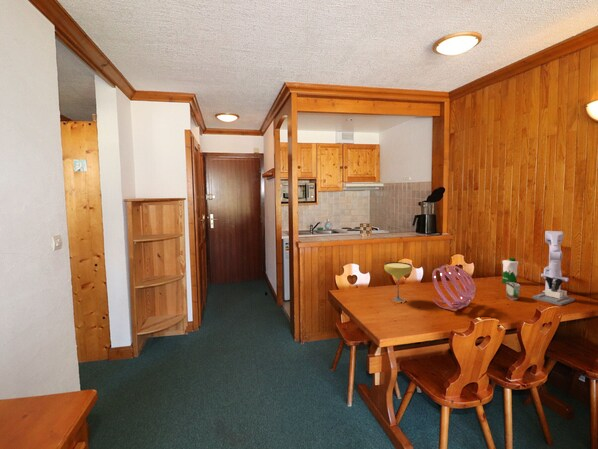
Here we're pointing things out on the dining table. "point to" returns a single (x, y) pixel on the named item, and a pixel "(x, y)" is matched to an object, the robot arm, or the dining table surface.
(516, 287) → the food container
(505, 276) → the milk carton
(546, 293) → the sliding jaw
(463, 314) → the dining table surface
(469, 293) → the spiral basket
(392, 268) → the cocktail glass
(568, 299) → the base
